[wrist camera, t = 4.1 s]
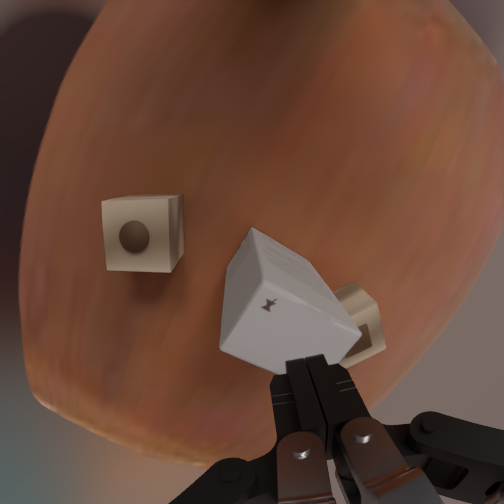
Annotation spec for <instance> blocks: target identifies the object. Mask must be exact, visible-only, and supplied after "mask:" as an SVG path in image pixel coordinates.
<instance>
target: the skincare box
mask: <svg viewBox="0 0 504 504" xmlns="http://www.w3.org/2000/svg"><path fill="white" fill-rule="evenodd" d="M361 336H362V333H361V331H360V330H359V329H358V327H357V326H356V324H355V323H354V322H353V320H352V319H351V317H350V316H349V314H348V313H347V312H346V310H345V309H344V308H343V306H342V305H341V303H340V302H339V301H338V299H337V298H336V297H335V295H334V294H333V293H332V291H331V290H330V289H329V287H328V286H327V285H326V283H325V282H324V281H323V279H322V278H321V277H320V275H319V274H318V273H317V271H316V270H315V269H314V267H313V266H312V265H311V263H310V262H309V261H308V260H306V259H305V258H303V257H302V256H300V255H298V254H297V253H295V252H293V251H292V250H290V249H288V248H287V247H285V246H283V245H282V244H280V243H278V242H277V241H275V240H273V239H272V238H270V237H268V236H267V235H265V234H263V233H262V232H260V231H258V230H256V229H255V228H253V227H251V229H250V230H249V232H248V233H247V235H246V237H245V238H244V240H243V241H242V243H241V244H240V246H239V248H238V250H237V251H236V253H235V255H234V256H233V258H232V260H231V261H230V263H229V264H228V266H227V271H226V280H225V290H224V300H223V310H222V321H221V332H220V342H219V348H220V350H221V351H223V352H225V353H228V354H230V355H232V356H234V357H237V358H239V359H241V360H244V361H246V362H248V363H250V364H253V365H255V366H258V367H260V368H263V369H265V370H268V371H270V372H273V373H275V374H278V375H281V374H286V367H285V361H287V360H293V359H299V358H305V357H309V356H314V355H319V354H324V356H325V358H326V361H327V363H328V365H332V364H336V363H339V361H340V360H341V359H342V358H343V357H344V356H345V355H346V353H347V352H348V351H349V350H350V349H351V348H352V347H353V345H354V344H355V343H356V342H357V341H358V340H359V338H360V337H361Z"/></svg>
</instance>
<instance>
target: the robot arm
mask: <svg viewBox="0 0 504 504" xmlns="http://www.w3.org/2000/svg"><path fill="white" fill-rule="evenodd" d="M285 367H286V374H281V375H274V376H273V379H272V381H271V383H270V391H271V398H272V405H273V412H274V419H275V425H276V432H277V441H276V444H275V446H274V447H273V448H272V450H271V451H270V452H268V453H267V454H265V455H264V456H261V457H259V458H257V459H254V460H251V461H249V462H248V461H246V460H244V459H240V458H226V459H222V460H220V461H218V462H216V463H215V464H214V465H212V466H211V467H210V468H209V469H208V470H207V471H206V472H205V473H204V474H203V475H202V476H201V477H199V478H198V479H197V480H196V481H195V482H194V483H193V484H191V485H190V486H189V487H188V488H187V489H186V490H185V491H183V492H182V493H181V494H180V495H179V496H177V497H176V498H175V499H174V500H172V501H171V502H170V503H169V504H336V500H335V498H333V495H332V490H331V484H330V478H329V472H328V466H327V461H326V460H330V459H333V460H334V463H335V466H336V470H335V476H336V479H337V482H338V484H339V486H340V489H341V491H342V494H343V496H344V499H345V501H346V504H444V503H443V501H442V500H441V498H440V496H439V495H443V496H446V497H449V498H452V499H456V500H460V501H464V502H468V503H472V504H504V430H500V429H496V428H492V427H488V426H484V425H479V424H475V423H472V422H468V421H465V420H461V419H458V418H454V417H451V416H447V415H444V414H441V413H438V412H432V411H428V412H423V413H420V414H419V415H417V416H416V417H415V418H413V420H412V422H411V423H410V424H401V425H385V424H381V423H380V422H379V421H378V420H376V419H374V418H372V417H371V416H370V414H369V412H368V410H367V408H366V406H365V404H364V402H363V400H362V398H361V396H360V394H359V392H358V390H357V388H356V387H355V384H354V382H353V381H352V378H351V376H350V374H349V373H348V371H347V369H345V368H344V367H343V366H341V365H340V364H339V363H336V364H332V365H328V363H327V361H326V358H325V356H324V354H319V355H314V356H309V357H305V358H299V359H293V360H287V361H285ZM438 494H439V495H438Z"/></svg>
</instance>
